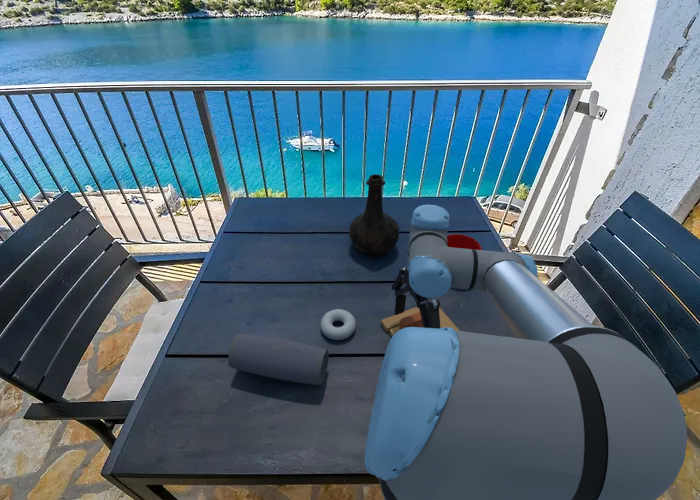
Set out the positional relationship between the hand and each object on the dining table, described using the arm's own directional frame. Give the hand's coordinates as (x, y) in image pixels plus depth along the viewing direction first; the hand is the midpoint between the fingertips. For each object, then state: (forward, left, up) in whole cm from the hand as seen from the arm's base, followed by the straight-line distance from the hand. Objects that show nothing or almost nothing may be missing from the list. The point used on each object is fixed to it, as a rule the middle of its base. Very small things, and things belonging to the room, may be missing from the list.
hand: (411, 329), depth 93 cm
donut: (+7, +19, -5) cm, 21 cm away
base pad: (+1, -4, -5) cm, 6 cm away
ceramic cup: (+27, -23, -5) cm, 36 cm away
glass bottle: (+42, +1, -5) cm, 42 cm away
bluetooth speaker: (-4, +35, -5) cm, 35 cm away
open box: (0, 0, -5) cm, 5 cm away
